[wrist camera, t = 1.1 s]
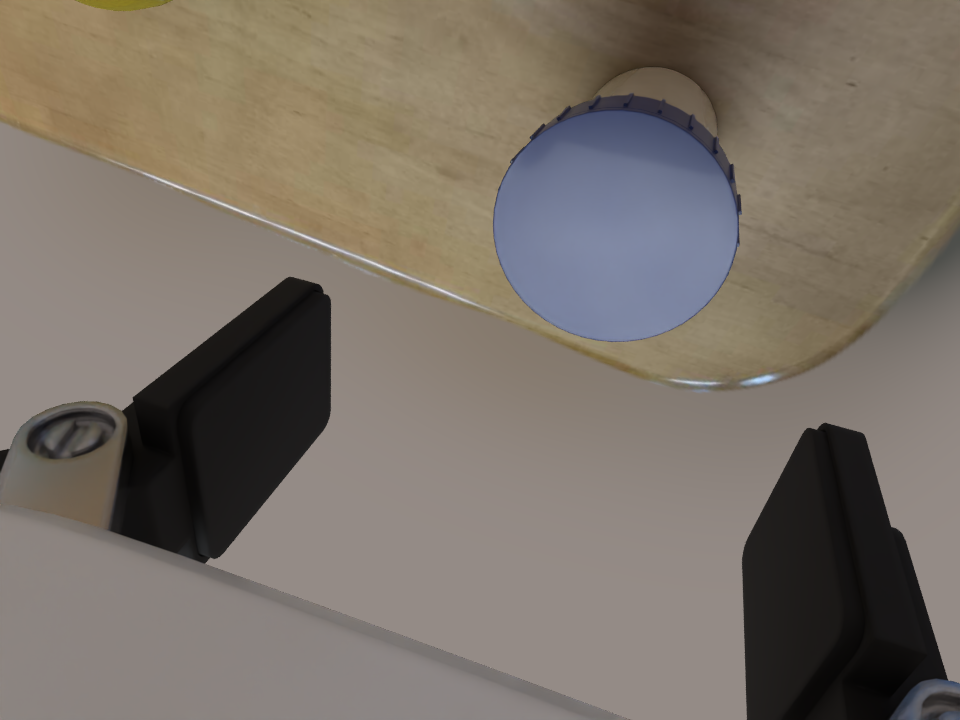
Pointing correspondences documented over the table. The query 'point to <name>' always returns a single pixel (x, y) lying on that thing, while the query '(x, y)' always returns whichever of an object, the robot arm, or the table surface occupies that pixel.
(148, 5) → the lemon
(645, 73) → the cream canister
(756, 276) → the table surface
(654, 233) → the jar lid
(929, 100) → the table surface
